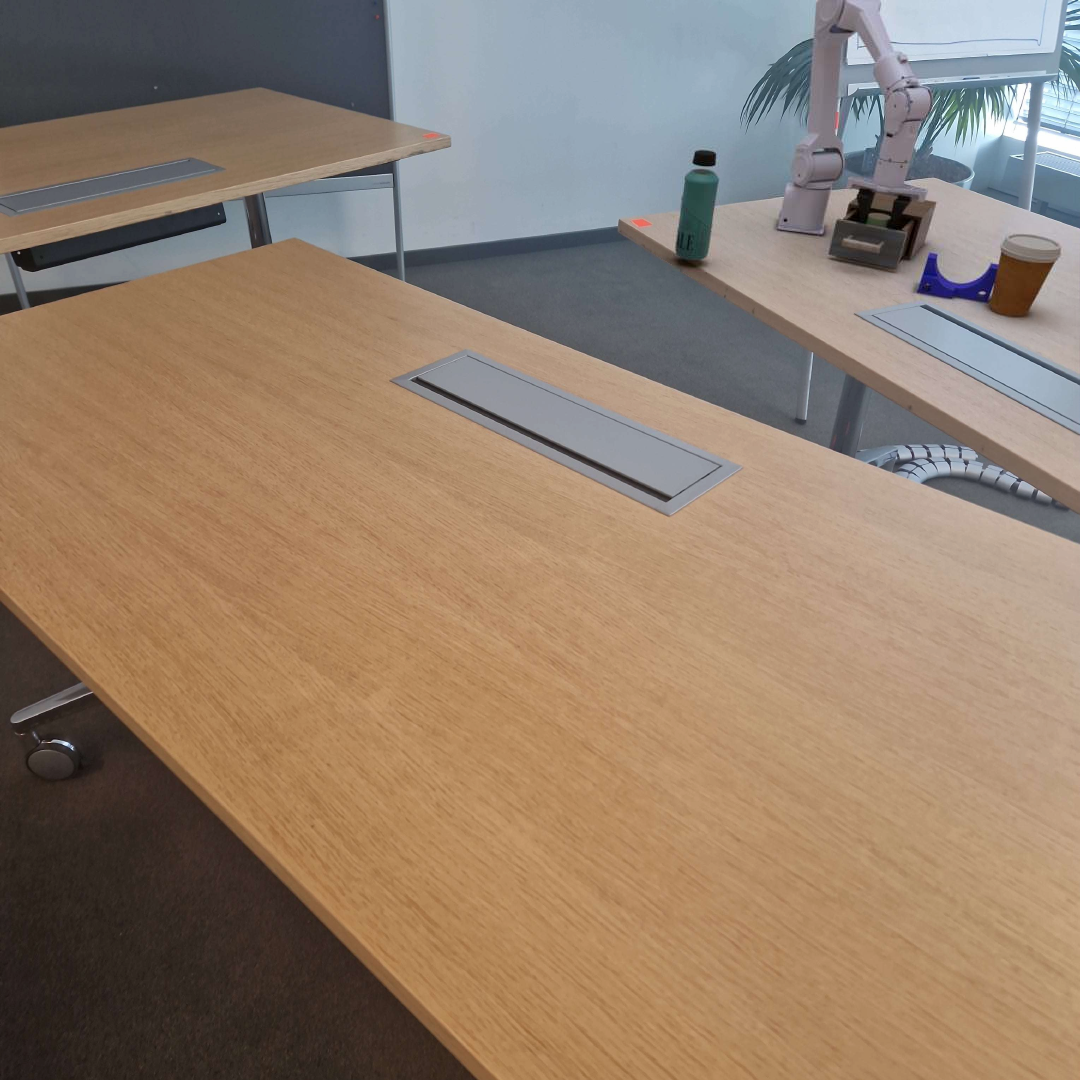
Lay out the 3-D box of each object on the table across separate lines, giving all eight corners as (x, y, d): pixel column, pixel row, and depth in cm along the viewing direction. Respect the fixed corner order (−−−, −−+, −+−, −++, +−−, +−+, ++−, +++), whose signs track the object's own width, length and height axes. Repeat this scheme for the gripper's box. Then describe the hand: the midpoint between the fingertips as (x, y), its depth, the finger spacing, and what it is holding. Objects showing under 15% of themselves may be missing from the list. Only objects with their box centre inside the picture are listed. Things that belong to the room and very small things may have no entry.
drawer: (889, 276, 164) (900, 240, 160) (820, 261, 170) (829, 225, 166) (910, 252, 177) (920, 218, 173) (845, 238, 182) (854, 205, 178)
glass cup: (884, 245, 171) (891, 220, 168) (861, 242, 171) (867, 217, 169) (884, 238, 174) (890, 214, 171) (861, 235, 175) (867, 211, 172)
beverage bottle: (709, 259, 170) (727, 149, 158) (703, 270, 165) (720, 157, 153) (676, 254, 172) (691, 145, 160) (669, 265, 167) (684, 152, 155)
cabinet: (909, 260, 175) (922, 217, 170) (838, 245, 181) (848, 203, 176) (924, 243, 184) (936, 202, 179) (856, 229, 190) (866, 189, 185)
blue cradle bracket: (917, 292, 161) (927, 259, 157) (919, 284, 164) (929, 252, 160) (987, 305, 157) (998, 272, 153) (988, 297, 160) (999, 264, 156)
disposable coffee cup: (1033, 324, 150) (1060, 254, 143) (974, 311, 154) (998, 242, 147) (1040, 308, 157) (1067, 240, 150) (984, 295, 161) (1007, 229, 153)
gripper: (849, 156, 164) (832, 230, 172) (929, 169, 158) (907, 245, 166) (859, 149, 169) (842, 221, 177) (937, 162, 163) (916, 236, 171)
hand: (874, 232), depth 172 cm, fingers closed on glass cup, 4 cm apart
